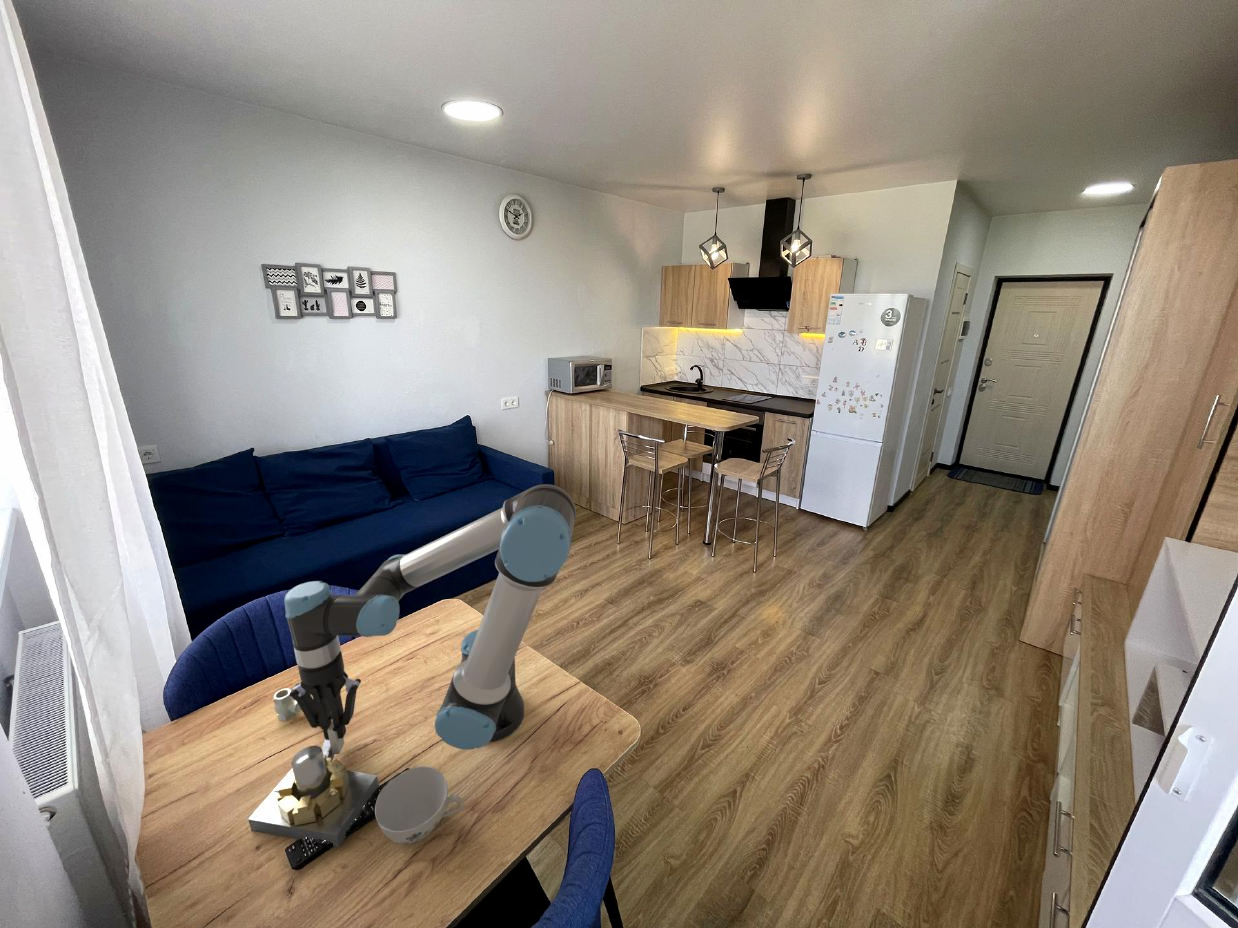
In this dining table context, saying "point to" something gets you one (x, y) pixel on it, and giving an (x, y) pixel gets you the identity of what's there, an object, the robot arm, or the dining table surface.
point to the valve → (285, 705)
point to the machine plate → (321, 824)
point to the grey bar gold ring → (308, 806)
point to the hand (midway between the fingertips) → (338, 748)
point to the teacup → (413, 804)
